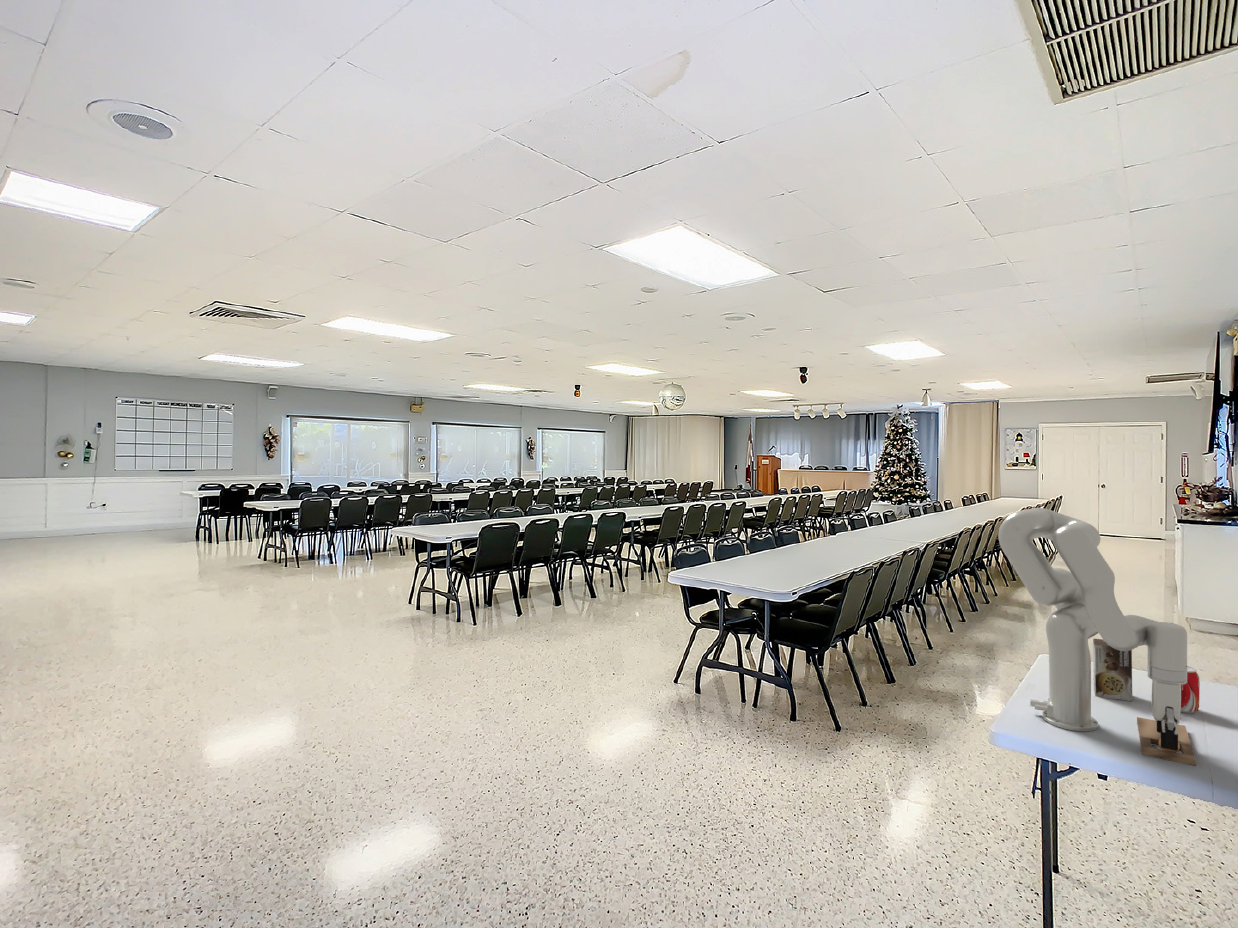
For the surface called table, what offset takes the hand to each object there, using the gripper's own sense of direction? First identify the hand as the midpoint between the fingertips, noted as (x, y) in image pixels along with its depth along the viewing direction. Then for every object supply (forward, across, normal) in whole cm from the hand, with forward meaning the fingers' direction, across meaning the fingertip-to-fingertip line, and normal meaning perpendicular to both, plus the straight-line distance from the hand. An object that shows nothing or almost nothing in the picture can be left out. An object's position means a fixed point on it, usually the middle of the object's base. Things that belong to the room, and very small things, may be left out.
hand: (1167, 740), depth 162 cm
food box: (+3, -35, -10) cm, 37 cm away
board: (+3, -5, 0) cm, 6 cm away
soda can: (+3, -33, +6) cm, 34 cm away
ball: (+1, +1, 0) cm, 1 cm away
